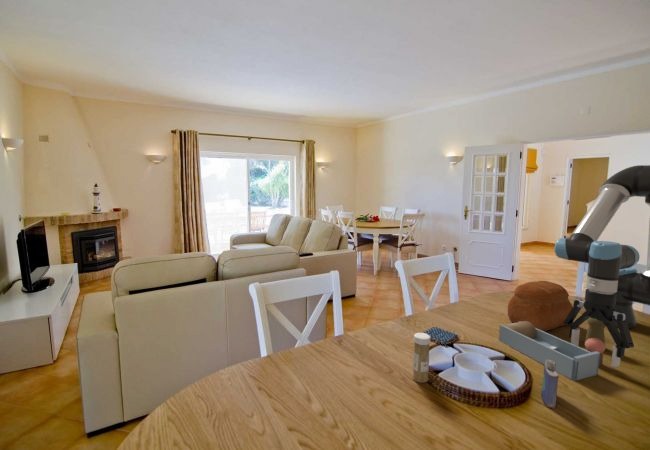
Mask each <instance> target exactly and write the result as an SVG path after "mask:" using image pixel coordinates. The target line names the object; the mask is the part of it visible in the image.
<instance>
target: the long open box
mask: <svg viewBox="0 0 650 450" xmlns="http://www.w3.org/2000/svg"><path fill="white" fill-rule="evenodd" d="M498 341H499V342H501V343H503V344H505V345H506V346H508V347H511V348H512V349H514V350H515V351H517V352H520V353H521V354H523V355H525V356H527V357H529V358H531V359H532V360H534V361H537V363H540V364H542V365H544V364H545V361H546V360H547V359H548V360H552V361H554V362H555V363H556V365H555V370H556V372H557V373H558V374H561V375H563V376H564V377H567V378H568V379H570V380H572V381H574V382H576V381H580V380H583V379H586V378H591V377H594V376H598V374H599V366H600V365H599V358H600V353H599V352H597V351H596V352H589V351H587V349H585V348H583V347H580V346H579V345H578V346H576V345H573V344H571V342H570V341H567V340H564V339H562V338H559V337H558V336H555V335H553V334H550V333H548V332H547V331H541V330H539V329H537V328H535V327H534V326H533V324H531V323H530V322H528V321H523V322H521V321H519V322H517V323H514V322H512V323H506V324H505V325H503V324H500V325H499V332H498Z"/></svg>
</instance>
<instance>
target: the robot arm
mask: <svg viewBox="0 0 650 450" xmlns="http://www.w3.org/2000/svg"><path fill="white" fill-rule="evenodd" d="M632 197H637V198H638V197H642V198H644V202H645V204H646V205H648V206H649V207H650V164H649V165H647V164H645V165H639V164H638V165H633V166H630V167H627V168H624V169H621V170H619V171H618V172H617V173H614V174H613V175H611V176H610V177H609V178H607V179H606V180H605V181H604V183H602V185H601V186H600V187H599V189H598V196H597V197H596V199H595V200H594V201H593V203H592V204H591V206H590V207H589V209H588V210H587V211H586V213H585V214H584V216H583V217H582V219H580V222H579V223H578V225H577V226H576V227H575V229H574V230H573V232H572V233H571V234H570V235H569V237H561V238H558V239H557V240H556V242H555V245H554V246H553V247H554V248H553V249H554V254H555V256H556V257H557V258H560V259H563V260H567V261H572V262H574V261H575V262H579V263H585V264H588V266H587V275H586V284H585V286H586V287H585V288H586V289H585V293H584V300H585V301H583V300H582V299H575V300H573V305H572V306H573V308H572V309H571V311H570V313H569V314H568V316H567V318H566V319H565V321H564V324H565V325H564V326H566V325H567V326H568V327H569V337H570V343H571V344H573V345H576V346H578V347H579V341H580V333H581V329H580V328H579V326H581V325H582V324H584V323H585V321H588V318H589V317H590V318H593V319H597V320H599V321H602V322H603V324H604V325H606V327H605V328H606V329H607V330H608V332H609V334H610V336H611V338H612V340H613V342H614V344H615V345H613V346H612V355H611V364H610V367H612V368H617V367H619V366H621V359H622V358H624V357H625V352H626V351H625V350H626V349H631V348H634V346H635V345H634V341H633V338H632V336H631V331H630V329H631V328H635V327H636V326H637V318H636V315H635V312H634V308H633V304H634V303H636V304H641V305H645V306H648V307H649V306H650V219H649V221H648V222H649V223H648V225H649V226H648V239H647V253H646V254H647V255H646V256H647V257H646V267H645V268H643V269H641V270H640V272H638V270H637V268H636V267H634V266H635V265H637V264H638V263H639V261H640V253H639V251H638V249H637V248H636V247H633V246H631V245H629V244H620V243H619V242H615V241H606V240H599V238H600V237H601V235H602V233H603V232H604V231H605V230H606V228H607V226H608V225H609V223H610V222H611V221H612V218H613V217H614V216H615V214H616V213H617V211H618V210H619V209H620V207H621V206H622V204H624V203H626V202H627V201H629V199H630V198H632ZM633 302H634V303H633ZM582 308H584V309H585V311H584V312H583V313H581V315H580V316H579V317H578V318H577V316H578V315H579V313H580V311H581V309H582Z"/></svg>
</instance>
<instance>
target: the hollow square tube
mask: <svg viewBox="0 0 650 450" xmlns="http://www.w3.org/2000/svg"><path fill="white" fill-rule="evenodd" d="M586 350H587V349H586ZM587 351H588V350H587ZM603 361H604V353H601V354H600V358H599V366H602V365H603V363H604V362H603Z"/></svg>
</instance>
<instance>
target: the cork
mask: <svg viewBox="0 0 650 450" xmlns="http://www.w3.org/2000/svg"><path fill="white" fill-rule="evenodd" d="M587 324H588V328H587V331H586V335H585V338H584V341H583V346H584V347H585V342H586V340H587V339H589V338H597V339H599V340H601V341H602V342H603V343H604V345H605V346H606V338H605V328H607V327H606V325H604V324H603V322H602V321H599V320H597V319H593V318H590V317H589V318H588V319H587ZM605 351H606V349H605V350H604V352H605Z"/></svg>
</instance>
